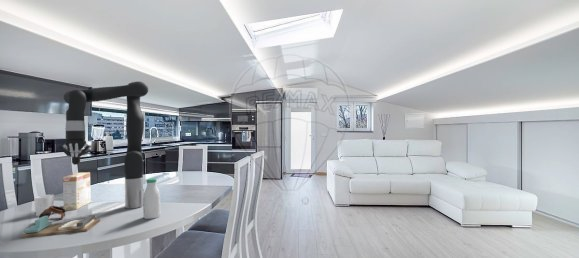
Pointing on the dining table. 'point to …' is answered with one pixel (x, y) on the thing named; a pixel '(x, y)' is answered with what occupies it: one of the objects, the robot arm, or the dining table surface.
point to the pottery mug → (53, 209)
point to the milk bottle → (151, 200)
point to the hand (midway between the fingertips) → (76, 164)
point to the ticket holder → (66, 227)
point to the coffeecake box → (76, 190)
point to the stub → (39, 225)
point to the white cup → (43, 203)
